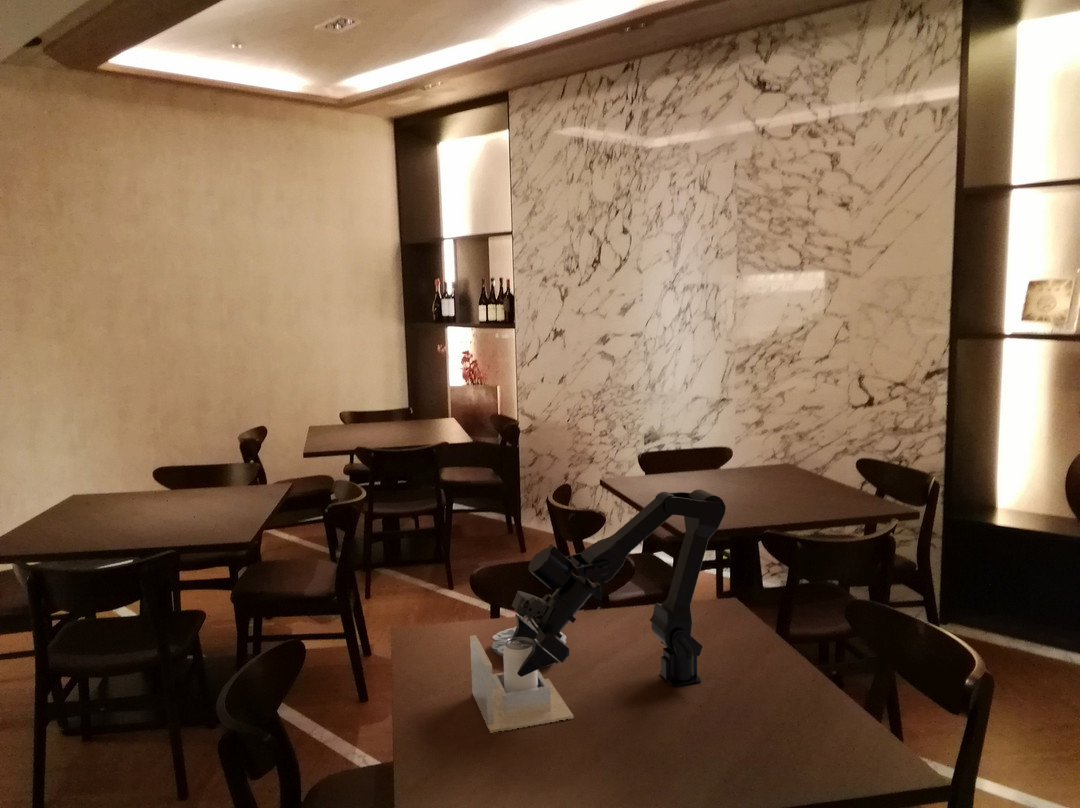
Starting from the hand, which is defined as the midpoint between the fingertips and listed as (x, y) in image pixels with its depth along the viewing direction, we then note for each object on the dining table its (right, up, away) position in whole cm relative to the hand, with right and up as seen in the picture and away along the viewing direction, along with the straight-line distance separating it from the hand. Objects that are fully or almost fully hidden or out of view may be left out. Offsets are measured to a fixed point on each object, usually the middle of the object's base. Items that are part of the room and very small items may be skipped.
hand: (512, 664), depth 154 cm
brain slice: (+3, -6, +26) cm, 26 cm away
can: (+2, -8, +2) cm, 8 cm away
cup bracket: (+2, -8, +1) cm, 9 cm away
